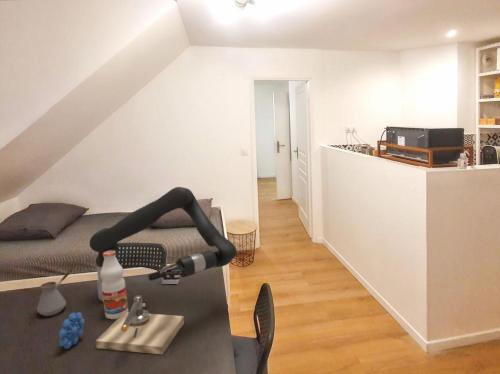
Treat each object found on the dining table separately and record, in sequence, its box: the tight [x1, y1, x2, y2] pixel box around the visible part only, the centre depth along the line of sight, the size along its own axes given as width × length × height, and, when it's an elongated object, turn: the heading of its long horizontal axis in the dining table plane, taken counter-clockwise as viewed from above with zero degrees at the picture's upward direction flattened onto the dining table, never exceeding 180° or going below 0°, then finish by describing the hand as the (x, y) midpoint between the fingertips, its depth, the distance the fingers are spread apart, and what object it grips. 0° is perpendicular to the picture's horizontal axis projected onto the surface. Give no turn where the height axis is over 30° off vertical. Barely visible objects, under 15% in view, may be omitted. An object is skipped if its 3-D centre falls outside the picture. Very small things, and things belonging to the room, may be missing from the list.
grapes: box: [58, 312, 85, 350], centre depth 134 cm, size 12×7×12 cm, turn 161°
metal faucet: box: [121, 294, 150, 332], centre depth 134 cm, size 23×8×9 cm, turn 4°
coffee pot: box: [36, 266, 76, 317], centre depth 163 cm, size 21×12×15 cm, turn 162°
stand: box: [95, 311, 185, 355], centre depth 138 cm, size 26×20×3 cm
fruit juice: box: [100, 250, 129, 320], centre depth 152 cm, size 9×9×28 cm
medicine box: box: [161, 278, 180, 285], centre depth 181 cm, size 8×4×9 cm, turn 84°
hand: (149, 277), depth 131 cm, fingers closed
